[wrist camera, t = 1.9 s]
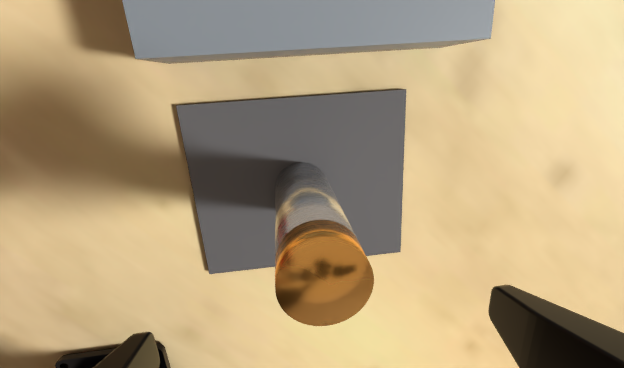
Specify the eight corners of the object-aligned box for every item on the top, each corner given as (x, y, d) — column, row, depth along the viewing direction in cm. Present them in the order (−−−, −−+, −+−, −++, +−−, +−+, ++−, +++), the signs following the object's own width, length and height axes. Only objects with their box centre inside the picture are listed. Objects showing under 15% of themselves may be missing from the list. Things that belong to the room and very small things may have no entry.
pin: (277, 214, 18) (280, 331, 10) (272, 164, 17) (270, 247, 9) (328, 208, 19) (373, 319, 10) (326, 159, 18) (374, 236, 9)
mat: (210, 271, 19) (209, 274, 19) (177, 105, 16) (176, 105, 16) (398, 249, 20) (400, 251, 20) (403, 89, 17) (406, 89, 17)
